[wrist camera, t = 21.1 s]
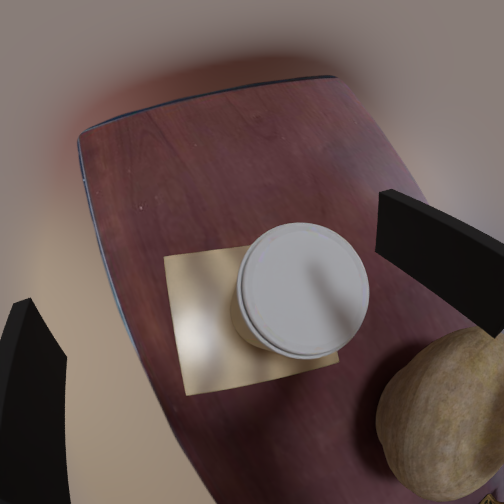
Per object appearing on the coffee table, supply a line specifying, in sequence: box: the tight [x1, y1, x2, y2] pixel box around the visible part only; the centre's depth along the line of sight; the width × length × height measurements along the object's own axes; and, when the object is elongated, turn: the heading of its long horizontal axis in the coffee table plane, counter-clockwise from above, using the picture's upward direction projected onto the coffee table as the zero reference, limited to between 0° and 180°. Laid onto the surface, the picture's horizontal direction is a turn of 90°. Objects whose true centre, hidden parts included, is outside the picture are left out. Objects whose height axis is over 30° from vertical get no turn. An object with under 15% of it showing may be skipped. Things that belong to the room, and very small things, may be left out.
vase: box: [376, 326, 504, 502], centre depth 24 cm, size 22×22×30 cm
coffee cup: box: [230, 223, 369, 359], centre depth 25 cm, size 9×9×12 cm
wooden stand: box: [164, 245, 339, 396], centre depth 34 cm, size 16×14×8 cm
